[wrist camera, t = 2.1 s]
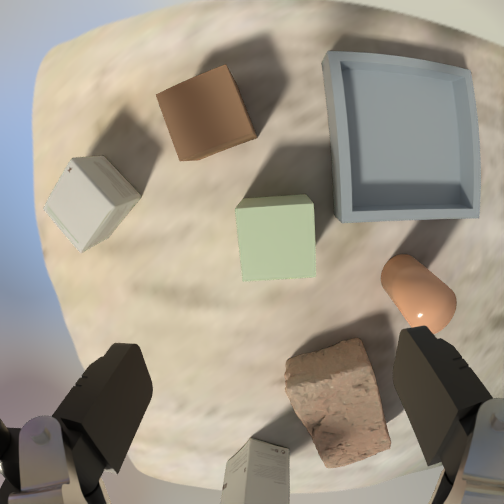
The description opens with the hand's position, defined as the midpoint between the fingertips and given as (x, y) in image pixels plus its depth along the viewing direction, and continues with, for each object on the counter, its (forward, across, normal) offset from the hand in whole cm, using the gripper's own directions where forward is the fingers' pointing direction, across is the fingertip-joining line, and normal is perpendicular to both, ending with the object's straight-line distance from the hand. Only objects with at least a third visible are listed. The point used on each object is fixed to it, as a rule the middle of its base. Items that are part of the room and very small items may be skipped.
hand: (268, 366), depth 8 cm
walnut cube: (+17, +3, -9) cm, 20 cm away
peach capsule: (+17, -12, +5) cm, 21 cm away
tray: (+17, -12, -7) cm, 21 cm away
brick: (+17, -7, +20) cm, 27 cm away
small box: (+17, +14, -4) cm, 23 cm away
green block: (+17, -1, 0) cm, 17 cm away
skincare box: (+17, +4, +31) cm, 35 cm away
